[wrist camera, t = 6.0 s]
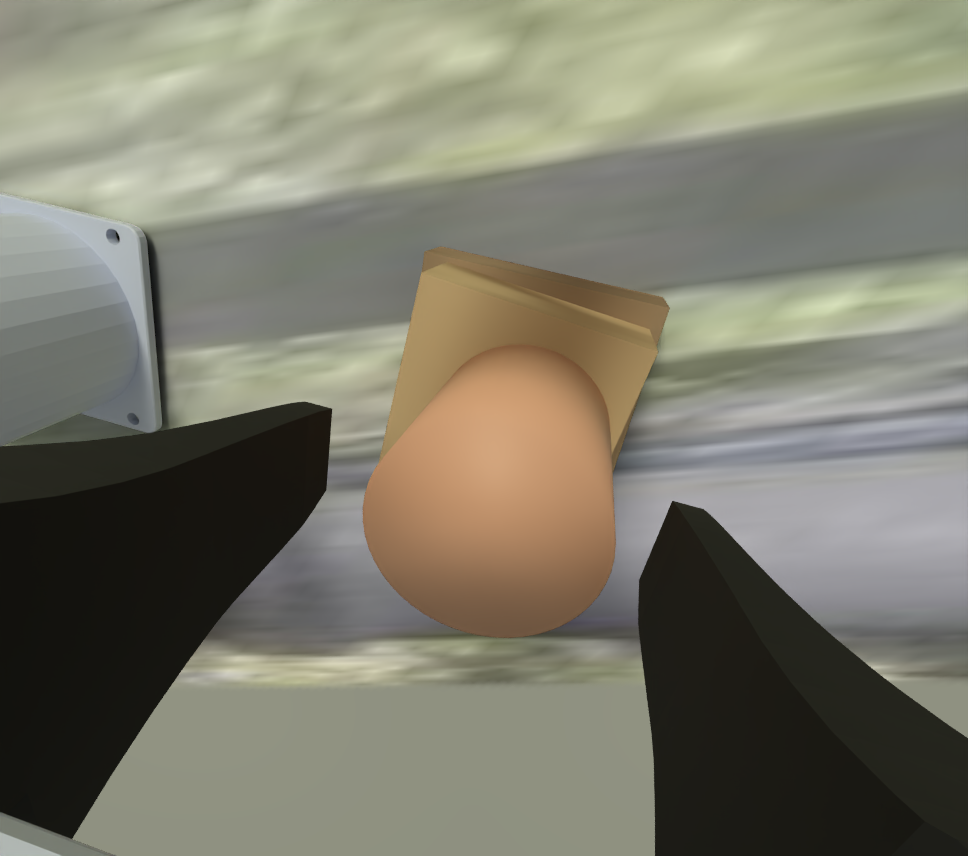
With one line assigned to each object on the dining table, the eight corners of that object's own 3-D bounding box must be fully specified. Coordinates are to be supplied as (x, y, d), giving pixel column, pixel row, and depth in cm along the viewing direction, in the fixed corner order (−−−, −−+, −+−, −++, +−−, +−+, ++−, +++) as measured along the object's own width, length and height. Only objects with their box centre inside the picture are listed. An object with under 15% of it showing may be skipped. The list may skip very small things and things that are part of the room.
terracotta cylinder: (428, 482, 15) (356, 601, 11) (449, 327, 13) (371, 392, 9) (586, 521, 15) (580, 664, 10) (631, 365, 13) (649, 456, 8)
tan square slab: (418, 433, 20) (396, 461, 18) (446, 244, 17) (424, 251, 15) (597, 481, 19) (597, 516, 17) (660, 293, 16) (669, 307, 14)
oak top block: (403, 440, 18) (376, 474, 15) (447, 261, 15) (421, 272, 13) (574, 501, 17) (570, 544, 15) (649, 329, 15) (658, 351, 12)
